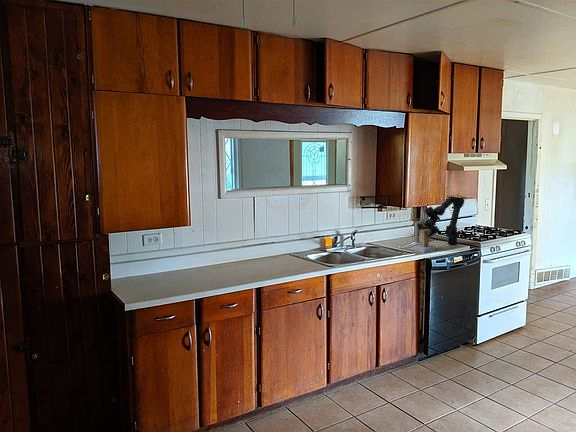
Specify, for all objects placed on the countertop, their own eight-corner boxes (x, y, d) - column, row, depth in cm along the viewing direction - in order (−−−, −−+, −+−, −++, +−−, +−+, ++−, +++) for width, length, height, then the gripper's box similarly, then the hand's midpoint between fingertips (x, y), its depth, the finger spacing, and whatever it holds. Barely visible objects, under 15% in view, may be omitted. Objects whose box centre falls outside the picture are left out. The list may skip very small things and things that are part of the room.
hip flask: (416, 242, 395) (416, 219, 393) (413, 242, 399) (413, 218, 396) (430, 240, 402) (431, 217, 399) (427, 240, 406) (427, 217, 403)
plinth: (423, 248, 375) (423, 244, 374) (435, 250, 365) (435, 246, 364) (412, 250, 369) (412, 246, 368) (424, 252, 359) (424, 248, 358)
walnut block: (423, 245, 370) (423, 229, 368) (428, 246, 365) (428, 230, 364) (419, 246, 367) (419, 230, 365) (423, 247, 363) (424, 230, 361)
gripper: (418, 213, 373) (408, 228, 368) (437, 215, 357) (427, 231, 353) (425, 222, 378) (415, 237, 374) (443, 224, 362) (434, 240, 358)
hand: (422, 236), depth 364 cm, fingers open, 9 cm apart
